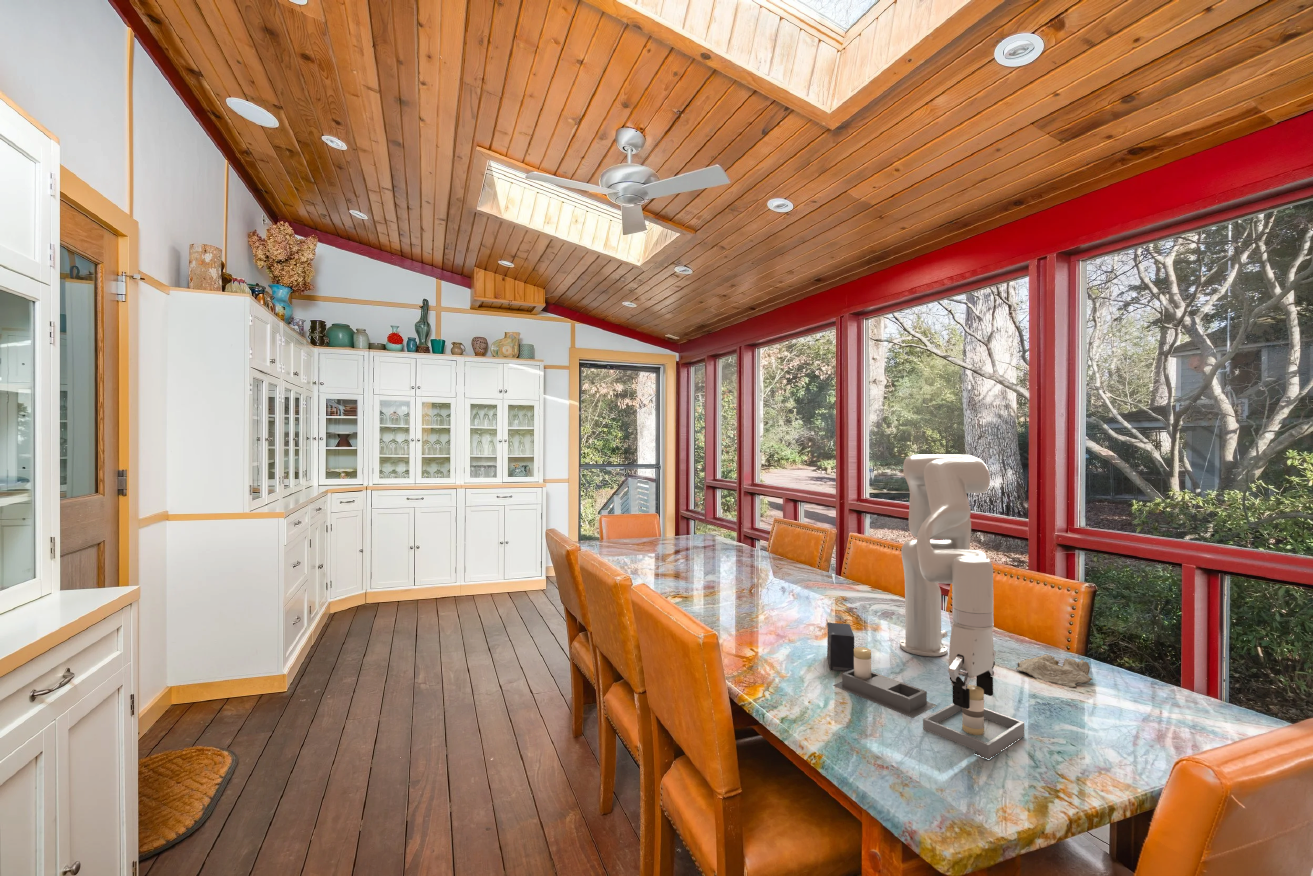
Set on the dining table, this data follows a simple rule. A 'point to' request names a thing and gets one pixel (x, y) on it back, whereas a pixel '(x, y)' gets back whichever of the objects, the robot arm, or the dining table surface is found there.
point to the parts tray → (981, 747)
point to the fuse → (862, 663)
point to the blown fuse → (974, 712)
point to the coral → (1056, 670)
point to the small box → (840, 647)
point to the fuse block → (887, 693)
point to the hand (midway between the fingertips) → (973, 699)
